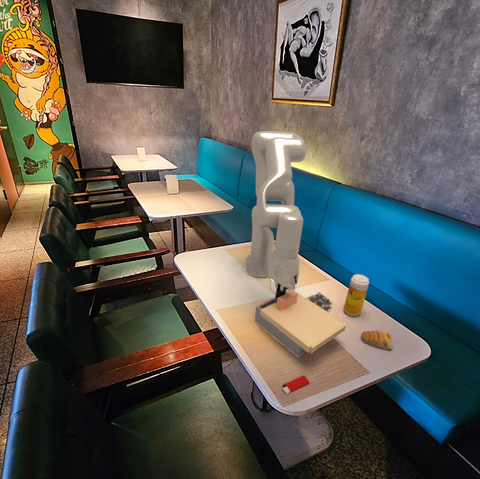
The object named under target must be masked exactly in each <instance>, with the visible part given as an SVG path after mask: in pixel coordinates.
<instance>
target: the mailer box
mask: <svg viewBox="0 0 480 479" xmlns="http://www.w3.org/2000/svg"><path fill="white" fill-rule="evenodd" d="M289 292H290V291H286V294H287V293H289ZM276 302H277V299H276V298H275V297H273V298H270V299H269V300H266V301H265V302H262V303H260V304H258V305H256V306H255V313H254V323H256V324H257V325H258V326H259V327H261V328H262V329H263V330H264V331H266V332H267V333H268V334H269V335H270V336H272V337H273V339H275V340H276V341H278V342H279V343H280V344H281V345H282V346H284V347H285V348H286V349H287V350H288V351H290V352H291V353H292V354H293V355H294V356H295V357H296V358H299V357H301V356H303V355H304V354H305V353H308V352H307V351H305V350H304V349H303V348H302V347H300V346H299V345H298V344H297V343H295V342H294V341H293V340H291V339H290V338H289V337H288V336H286V335H285V334H284V333H283V332H281V331H280V330H279V329H278V328H276V327H275V326H274V325H273V324H271V323H270V322H269V321H267V320H266V319H265V318H264V317H262V316H261V315H260V310H261V309H263V308H265V307H267V306H269V305H271V304H273V303H276ZM310 349H311V348H310Z"/></svg>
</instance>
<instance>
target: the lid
mask: <svg viewBox="0 0 480 479" xmlns="http://www.w3.org/2000/svg"><path fill="white" fill-rule="evenodd" d="M288 292H289V293H287V294H285V295H283V296H281V297H279V298H277V302H276V303H273V304H271V305H269V306H267V307H265V308H263V309H261V310H260V315H261V316H262V317H264V318H265V319H266V320H267V321H269V322H270V323H271V324H273V325H274V326H275V327H276V328H278V329H279V330H280V331H281V332H283V333H284V334H285V335H286V336H288V337H289V338H290V339H291V340H293V341H294V342H295V343H297V344H298V345H299V346H300V347H302V348H303V349H304V350H305V351H307V352H306V353H310V354H313V353H314V352H315V351H317V350H318V349H320V348H321V347H322V346H324V345H326V344H327V343H329V342H331V340H333V339H335V338H336V337H338V336H339V335H340V334H341V333H343V332H345V331H346V327H347V324H346V323H345V322H344V321H342V320H341V319H339V318H338V317H336V316H334V315H333V314H331V313H330V312H328V310H326V309H322V308H320V307H319V306H317V305H316V303H313V302H311V301H309V300H308V299H306V298H307V297H305V296H303V295H302V294H300V293H298V292H297V291H295V290H293V291H288ZM310 348H311V349H310Z"/></svg>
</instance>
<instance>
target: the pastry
mask: <svg viewBox="0 0 480 479" xmlns="http://www.w3.org/2000/svg"><path fill="white" fill-rule="evenodd" d="M360 338H361V340H362V341H363V342H364V343H366V344H369V345H370V346H373V348H378V349H382V350H386V351H389V350H392V348H393V336H392V334H391V333H390V332H386V331H382V330H379V329H378V330H377V329H376V330H366V331H363V332H361V334H360Z"/></svg>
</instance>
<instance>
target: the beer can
mask: <svg viewBox="0 0 480 479" xmlns="http://www.w3.org/2000/svg"><path fill="white" fill-rule="evenodd" d="M369 280H370V279H369V278H368V277H367V276H365V275H363V274H358V273H356V274H353V276H352V277H351V279H350V283H349V286H348V290H347V294H346V297H345V301H344V304H343V305H344V306H343V310H344V312H345V314H346V315H348V316H350V317H358V316H360V315H361V314H362V309H363V307H364V306H363V305H364V303H365V299H366V296H367V292H368V288H369V285H370V281H369Z"/></svg>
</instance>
